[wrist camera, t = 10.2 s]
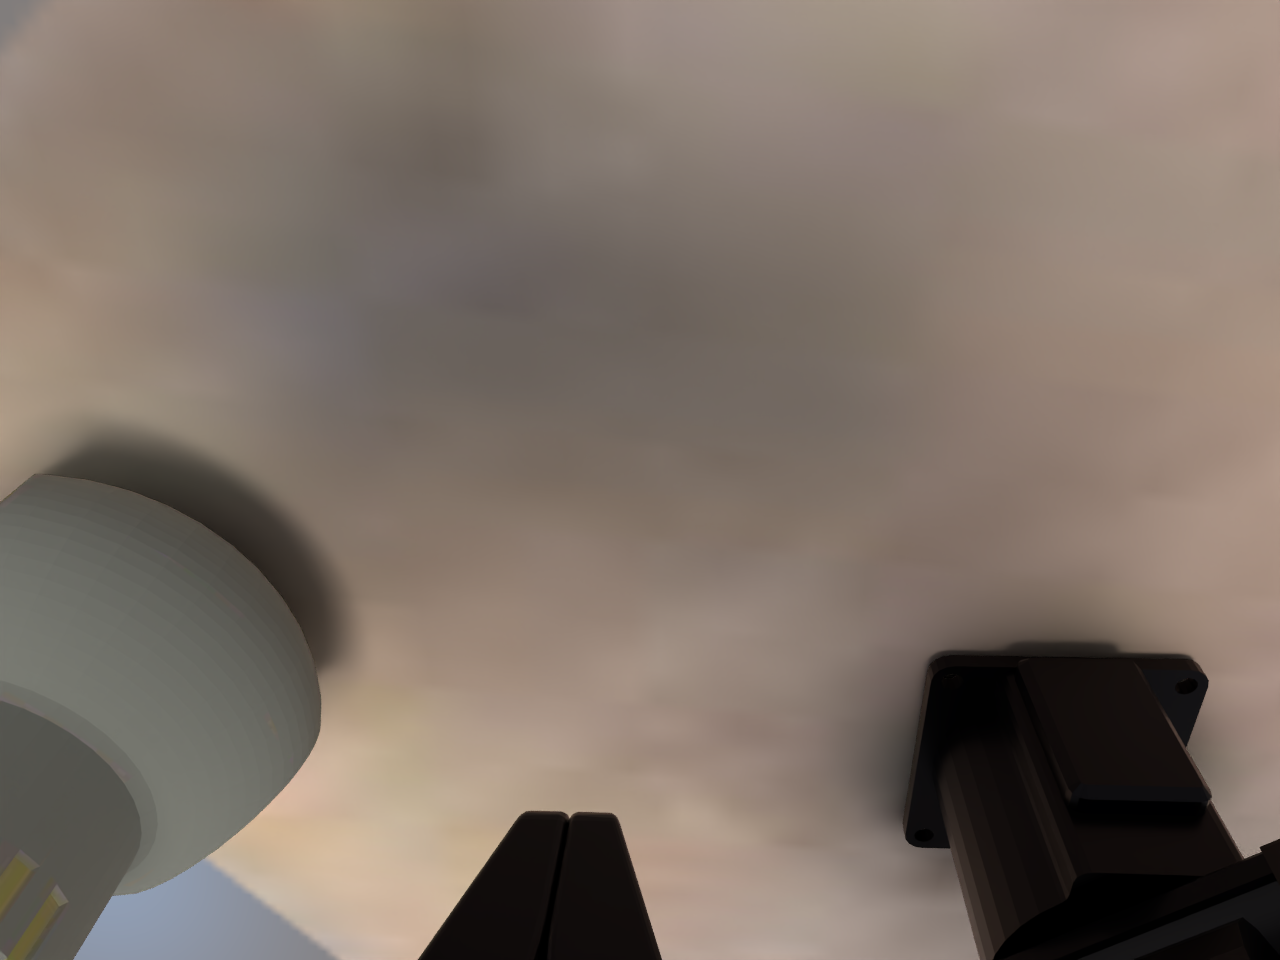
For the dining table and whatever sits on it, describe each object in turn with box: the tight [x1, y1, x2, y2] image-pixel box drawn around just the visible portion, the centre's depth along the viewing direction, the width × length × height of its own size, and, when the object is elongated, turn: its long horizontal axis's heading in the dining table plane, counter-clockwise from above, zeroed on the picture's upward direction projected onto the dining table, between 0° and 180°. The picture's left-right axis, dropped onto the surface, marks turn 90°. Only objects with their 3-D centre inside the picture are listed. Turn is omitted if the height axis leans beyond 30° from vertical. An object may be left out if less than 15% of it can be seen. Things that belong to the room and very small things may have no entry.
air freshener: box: [0, 474, 321, 960], centre depth 20 cm, size 11×8×10 cm
